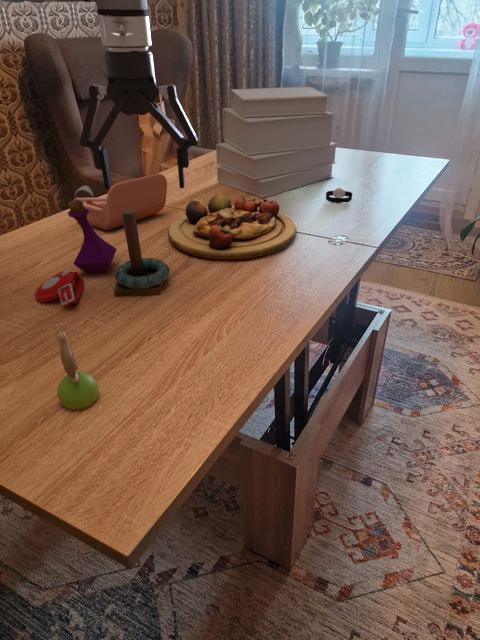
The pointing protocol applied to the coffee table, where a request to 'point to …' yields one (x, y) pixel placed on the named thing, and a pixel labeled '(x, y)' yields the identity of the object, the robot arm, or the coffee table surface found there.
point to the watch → (338, 195)
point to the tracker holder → (61, 288)
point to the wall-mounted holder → (127, 201)
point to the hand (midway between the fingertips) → (145, 186)
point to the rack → (134, 259)
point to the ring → (143, 281)
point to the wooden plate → (232, 228)
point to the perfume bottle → (90, 241)
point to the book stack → (275, 140)
